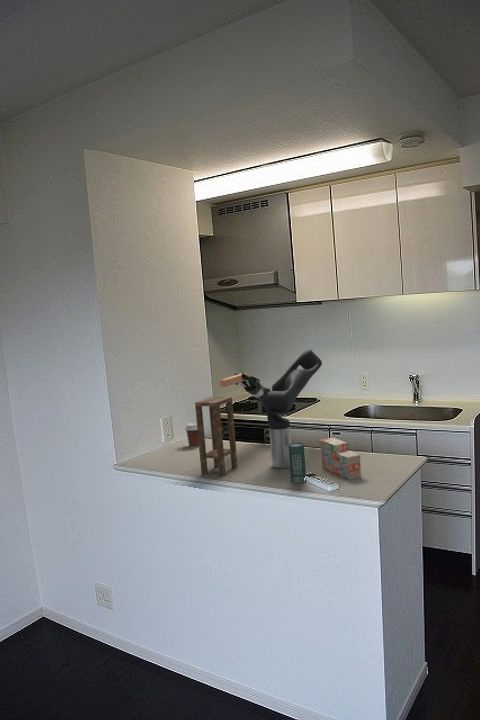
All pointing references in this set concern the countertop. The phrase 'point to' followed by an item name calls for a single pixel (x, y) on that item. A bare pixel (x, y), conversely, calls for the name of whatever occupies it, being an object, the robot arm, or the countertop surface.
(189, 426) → the coffee cup
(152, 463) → the countertop surface
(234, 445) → the stool
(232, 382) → the bar
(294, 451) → the can
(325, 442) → the stack of blocks
